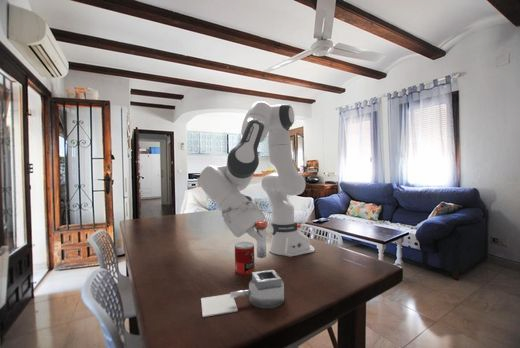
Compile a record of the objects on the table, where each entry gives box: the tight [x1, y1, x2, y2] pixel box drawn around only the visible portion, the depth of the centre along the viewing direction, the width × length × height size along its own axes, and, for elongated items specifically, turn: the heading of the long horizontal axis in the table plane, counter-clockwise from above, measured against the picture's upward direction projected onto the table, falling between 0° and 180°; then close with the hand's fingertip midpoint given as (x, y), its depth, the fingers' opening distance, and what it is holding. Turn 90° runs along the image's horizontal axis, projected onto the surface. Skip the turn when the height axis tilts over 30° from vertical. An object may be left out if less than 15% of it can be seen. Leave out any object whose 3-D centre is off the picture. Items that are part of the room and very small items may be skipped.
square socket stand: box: [229, 269, 285, 310], centre depth 78 cm, size 17×11×8 cm, turn 106°
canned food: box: [234, 241, 255, 276], centre depth 101 cm, size 8×8×11 cm
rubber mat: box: [200, 293, 239, 318], centre depth 76 cm, size 10×10×1 cm
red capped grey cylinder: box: [255, 220, 268, 259], centre depth 79 cm, size 4×4×11 cm
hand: (263, 238), depth 79 cm, fingers closed on red capped grey cylinder, 3 cm apart
